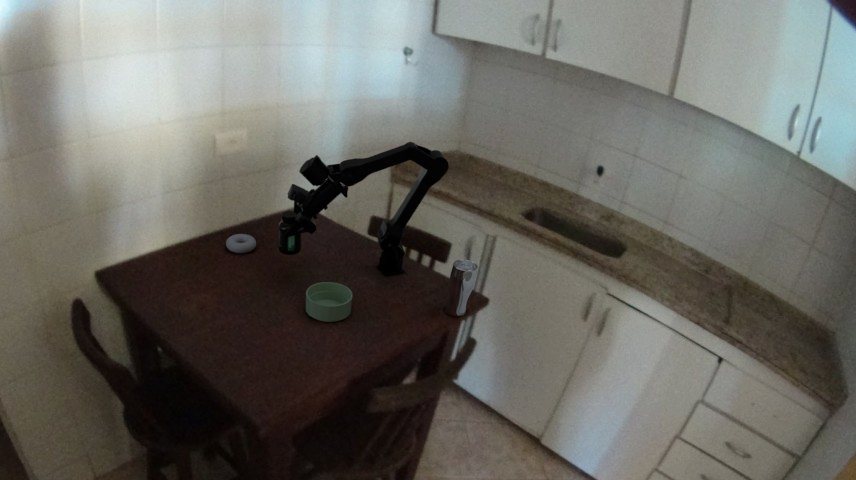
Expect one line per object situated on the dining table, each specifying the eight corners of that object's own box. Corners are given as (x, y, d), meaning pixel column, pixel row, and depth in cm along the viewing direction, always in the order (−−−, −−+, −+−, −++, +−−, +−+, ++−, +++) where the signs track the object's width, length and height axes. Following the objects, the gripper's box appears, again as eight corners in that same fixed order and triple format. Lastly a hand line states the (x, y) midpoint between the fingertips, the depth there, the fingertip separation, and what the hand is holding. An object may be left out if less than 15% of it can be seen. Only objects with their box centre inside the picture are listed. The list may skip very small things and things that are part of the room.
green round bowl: (338, 294, 181) (339, 278, 178) (359, 317, 172) (360, 300, 168) (298, 303, 177) (298, 287, 173) (317, 327, 167) (318, 310, 164)
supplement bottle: (295, 257, 185) (296, 220, 178) (275, 252, 187) (274, 216, 180) (304, 247, 190) (305, 211, 183) (283, 243, 192) (284, 207, 185)
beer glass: (463, 320, 172) (473, 273, 163) (439, 312, 175) (448, 266, 166) (471, 309, 177) (482, 263, 168) (448, 302, 180) (457, 256, 171)
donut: (224, 254, 199) (255, 255, 199) (223, 245, 197) (254, 245, 197) (228, 241, 207) (257, 241, 207) (227, 231, 205) (257, 232, 205)
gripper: (302, 165, 183) (266, 200, 189) (305, 189, 168) (266, 226, 174) (327, 190, 188) (291, 224, 194) (333, 216, 173) (293, 251, 179)
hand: (285, 230), depth 185 cm, fingers closed on supplement bottle, 7 cm apart
